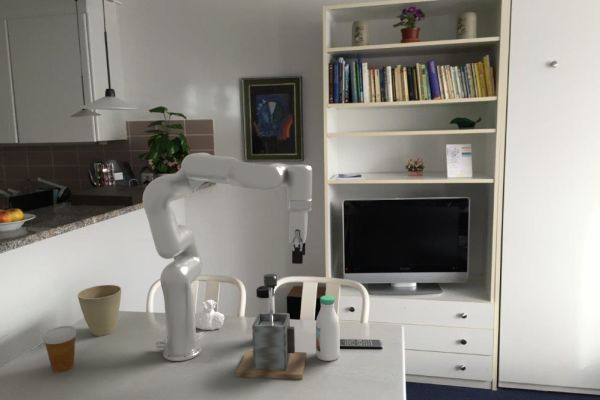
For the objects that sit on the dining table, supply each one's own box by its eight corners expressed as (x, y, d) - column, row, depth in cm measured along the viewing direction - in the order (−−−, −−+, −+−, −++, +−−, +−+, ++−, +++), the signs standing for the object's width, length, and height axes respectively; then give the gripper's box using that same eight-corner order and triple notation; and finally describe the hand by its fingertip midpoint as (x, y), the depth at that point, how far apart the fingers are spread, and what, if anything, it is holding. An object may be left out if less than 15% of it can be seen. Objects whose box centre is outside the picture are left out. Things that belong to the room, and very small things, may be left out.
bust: (225, 332, 174) (228, 303, 179) (221, 327, 167) (224, 297, 173) (194, 332, 175) (198, 303, 180) (189, 327, 168) (193, 297, 174)
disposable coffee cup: (45, 377, 139) (41, 340, 137) (46, 364, 147) (42, 329, 146) (80, 369, 143) (76, 333, 142) (79, 357, 152) (75, 322, 150)
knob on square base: (256, 333, 138) (254, 279, 135) (261, 323, 146) (259, 271, 143) (282, 334, 137) (281, 280, 135) (286, 323, 145) (284, 272, 142)
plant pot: (72, 335, 168) (68, 294, 166) (106, 321, 181) (103, 282, 179) (99, 344, 161) (95, 301, 159) (132, 328, 174) (129, 288, 172)
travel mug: (273, 345, 158) (272, 289, 155) (255, 343, 159) (253, 288, 156) (278, 337, 164) (276, 283, 161) (260, 335, 165) (258, 282, 162)
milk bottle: (343, 352, 151) (342, 295, 148) (334, 363, 144) (334, 303, 141) (321, 348, 154) (320, 292, 152) (312, 359, 147) (311, 299, 145)
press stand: (236, 376, 137) (234, 328, 135) (246, 354, 151) (244, 310, 149) (302, 379, 135) (301, 329, 133) (306, 356, 149) (305, 311, 147)
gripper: (290, 200, 149) (289, 251, 151) (283, 209, 132) (283, 266, 134) (313, 201, 148) (312, 252, 150) (309, 210, 131) (308, 267, 133)
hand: (298, 259), depth 142 cm, fingers open, 9 cm apart
